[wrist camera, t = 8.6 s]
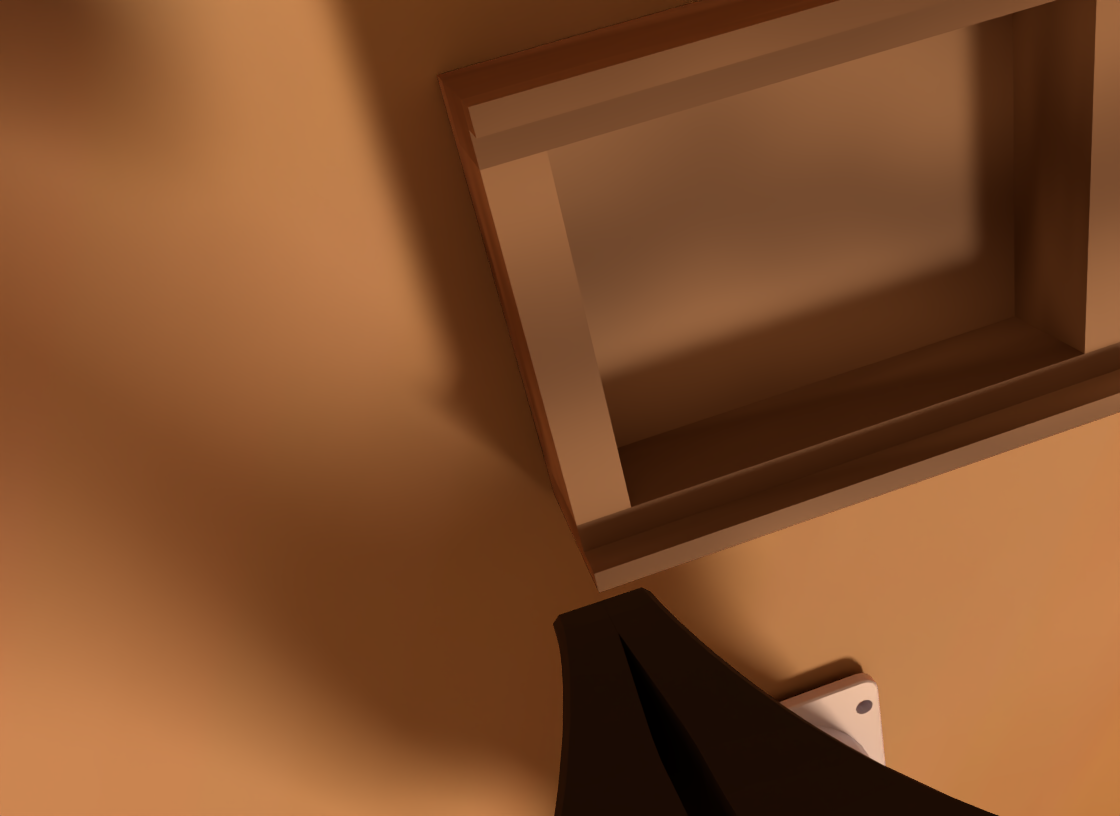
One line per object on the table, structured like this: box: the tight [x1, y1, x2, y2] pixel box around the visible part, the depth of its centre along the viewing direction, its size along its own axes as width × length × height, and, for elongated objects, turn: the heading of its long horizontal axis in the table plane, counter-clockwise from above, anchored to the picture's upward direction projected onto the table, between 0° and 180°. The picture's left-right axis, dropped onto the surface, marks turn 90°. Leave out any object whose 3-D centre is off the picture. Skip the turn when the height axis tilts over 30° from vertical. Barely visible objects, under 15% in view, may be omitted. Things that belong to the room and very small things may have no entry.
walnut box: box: [437, 0, 1120, 593], centre depth 20 cm, size 10×13×4 cm
